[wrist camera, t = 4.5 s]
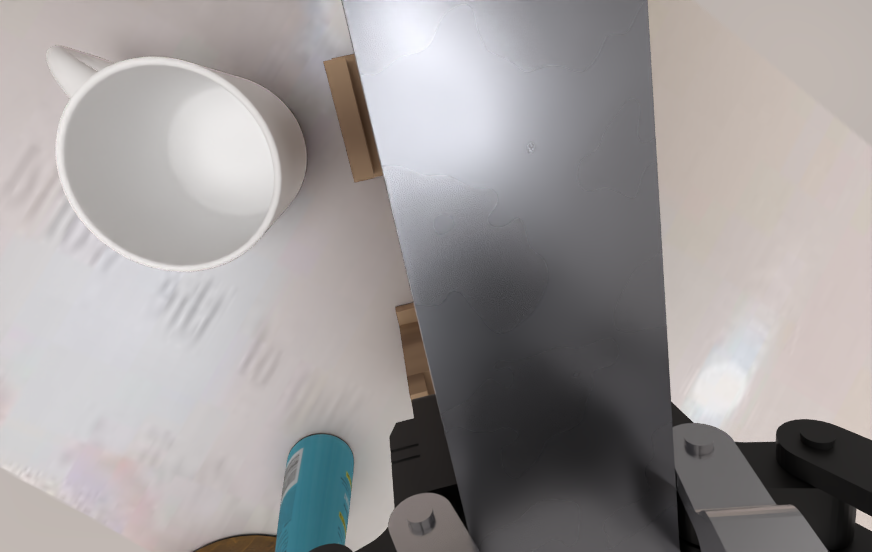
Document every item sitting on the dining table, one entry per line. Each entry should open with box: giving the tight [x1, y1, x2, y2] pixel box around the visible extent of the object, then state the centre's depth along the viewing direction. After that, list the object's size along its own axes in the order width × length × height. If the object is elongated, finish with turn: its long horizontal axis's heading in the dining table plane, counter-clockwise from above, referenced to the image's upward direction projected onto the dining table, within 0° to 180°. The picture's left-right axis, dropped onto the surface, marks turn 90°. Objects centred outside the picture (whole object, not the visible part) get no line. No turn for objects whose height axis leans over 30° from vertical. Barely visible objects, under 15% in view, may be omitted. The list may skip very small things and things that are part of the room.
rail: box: [341, 0, 680, 552], centre depth 11 cm, size 22×4×4 cm, turn 11°
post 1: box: [323, 54, 383, 182], centre depth 26 cm, size 7×6×10 cm
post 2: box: [395, 303, 435, 402], centre depth 31 cm, size 7×6×10 cm
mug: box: [46, 45, 307, 272], centre depth 25 cm, size 9×12×11 cm
